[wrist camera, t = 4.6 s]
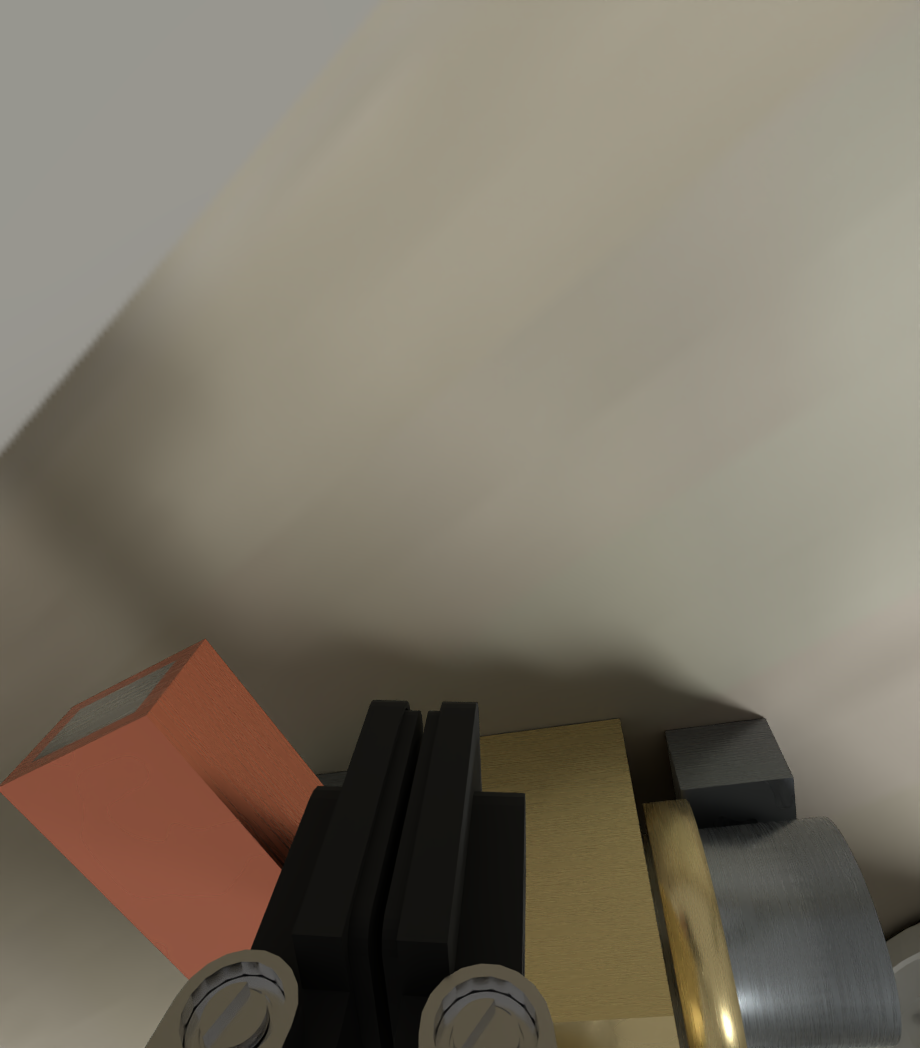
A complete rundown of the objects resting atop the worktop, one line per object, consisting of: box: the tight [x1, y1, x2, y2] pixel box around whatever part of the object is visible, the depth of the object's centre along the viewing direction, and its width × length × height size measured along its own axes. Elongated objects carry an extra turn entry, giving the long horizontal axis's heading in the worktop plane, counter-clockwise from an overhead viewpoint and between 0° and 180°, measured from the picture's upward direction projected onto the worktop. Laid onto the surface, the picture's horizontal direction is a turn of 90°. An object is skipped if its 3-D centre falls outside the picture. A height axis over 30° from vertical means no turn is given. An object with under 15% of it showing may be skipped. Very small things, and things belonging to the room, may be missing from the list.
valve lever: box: [0, 639, 324, 979], centre depth 12 cm, size 15×4×2 cm, turn 30°
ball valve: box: [316, 718, 902, 1048], centre depth 20 cm, size 7×16×9 cm, turn 103°
